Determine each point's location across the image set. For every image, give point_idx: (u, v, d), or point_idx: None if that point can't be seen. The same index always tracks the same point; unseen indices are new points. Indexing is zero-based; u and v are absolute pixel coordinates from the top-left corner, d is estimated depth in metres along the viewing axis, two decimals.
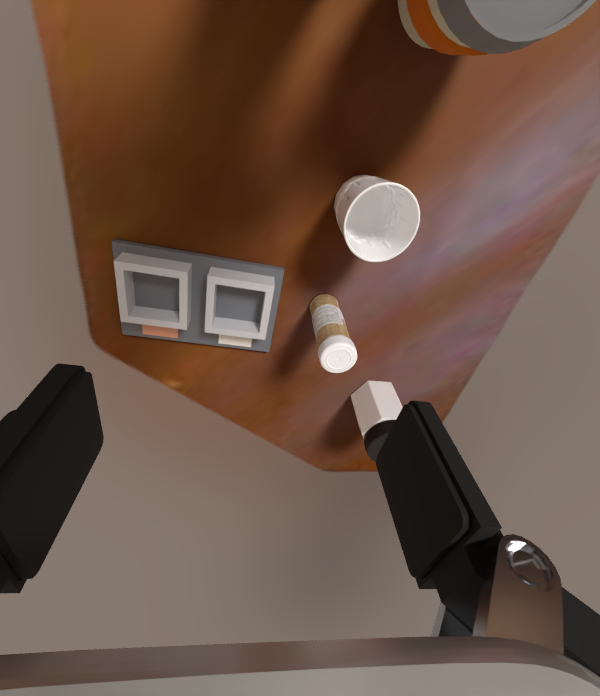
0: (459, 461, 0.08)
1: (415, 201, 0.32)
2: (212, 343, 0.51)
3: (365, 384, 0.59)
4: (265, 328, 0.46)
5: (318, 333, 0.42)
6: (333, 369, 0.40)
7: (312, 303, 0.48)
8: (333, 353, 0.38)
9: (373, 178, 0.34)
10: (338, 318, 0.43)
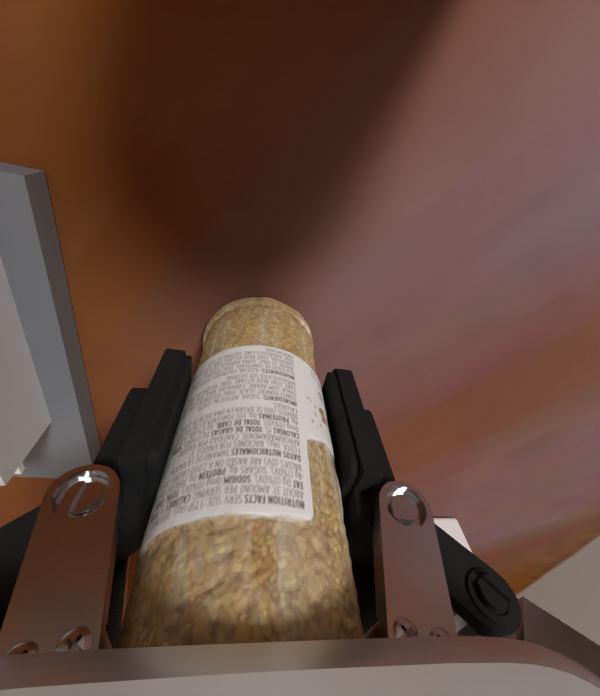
0: (362, 419, 0.09)
1: None
2: None
3: None
4: None
5: (133, 586, 0.06)
6: None
7: (207, 333, 0.12)
8: None
9: None
10: (283, 457, 0.07)
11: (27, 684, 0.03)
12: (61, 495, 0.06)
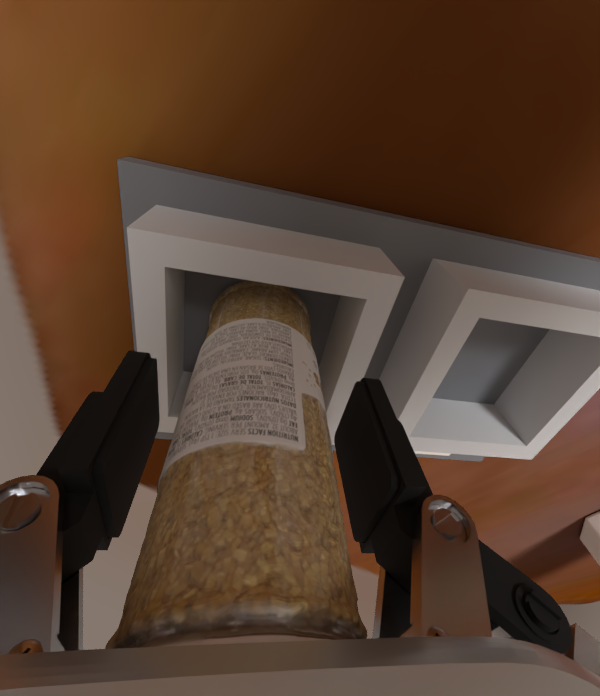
0: (397, 430, 0.09)
1: None
2: None
3: None
4: (550, 434, 0.16)
5: (155, 503, 0.07)
6: None
7: (213, 312, 0.13)
8: None
9: None
10: (281, 403, 0.08)
11: (27, 684, 0.03)
12: None
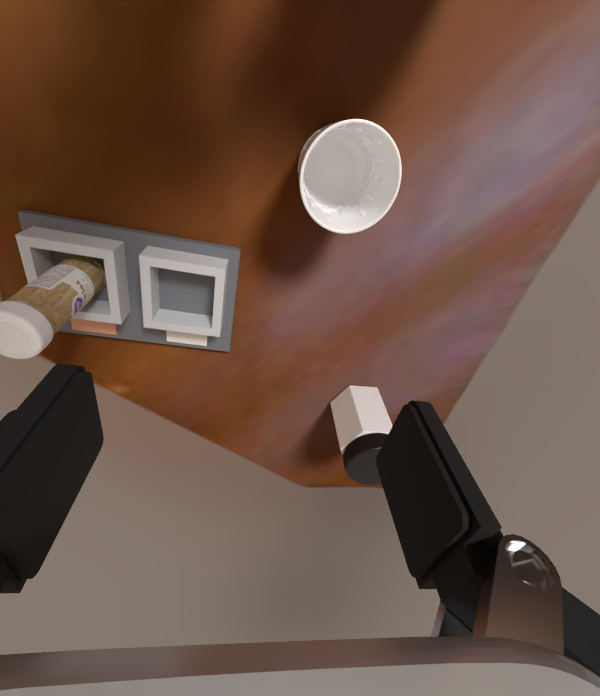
0: (459, 461, 0.08)
1: (394, 148, 0.24)
2: (160, 341, 0.42)
3: (346, 390, 0.50)
4: (219, 322, 0.38)
5: None
6: (10, 353, 0.26)
7: None
8: None
9: None
10: (50, 281, 0.29)
11: (27, 684, 0.03)
12: None
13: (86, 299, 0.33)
